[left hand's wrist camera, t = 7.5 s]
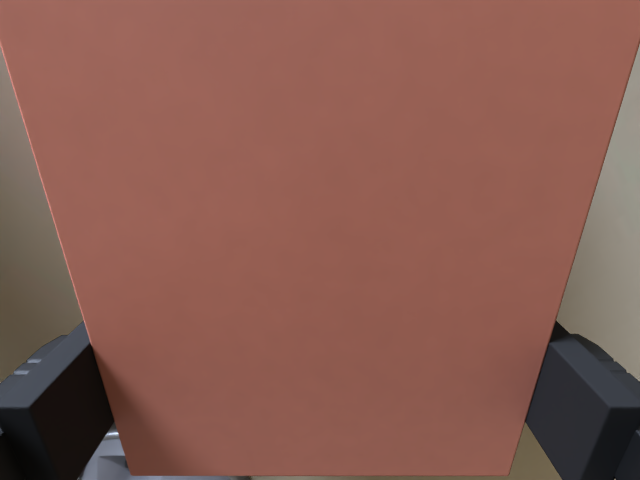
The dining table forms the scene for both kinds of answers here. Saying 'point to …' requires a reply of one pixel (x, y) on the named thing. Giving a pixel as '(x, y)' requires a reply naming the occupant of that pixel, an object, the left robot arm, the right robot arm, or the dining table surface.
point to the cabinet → (319, 216)
